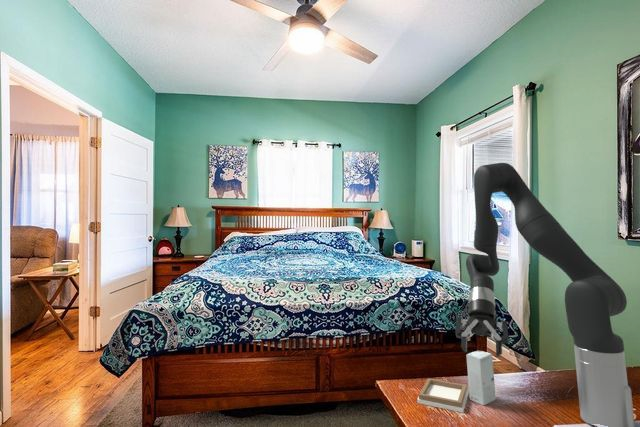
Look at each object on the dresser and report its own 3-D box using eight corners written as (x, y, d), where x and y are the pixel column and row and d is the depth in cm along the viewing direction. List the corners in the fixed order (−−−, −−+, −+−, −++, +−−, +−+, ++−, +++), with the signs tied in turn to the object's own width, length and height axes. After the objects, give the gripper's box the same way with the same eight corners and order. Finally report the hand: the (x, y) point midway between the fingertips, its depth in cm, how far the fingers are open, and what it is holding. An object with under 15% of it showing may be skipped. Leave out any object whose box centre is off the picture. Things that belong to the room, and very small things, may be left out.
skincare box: (484, 406, 88) (480, 358, 88) (468, 399, 91) (465, 354, 92) (496, 399, 91) (493, 353, 92) (481, 393, 95) (478, 349, 95)
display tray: (468, 392, 95) (468, 384, 95) (463, 412, 85) (462, 403, 85) (427, 385, 101) (426, 377, 101) (417, 403, 91) (417, 394, 91)
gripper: (456, 296, 108) (452, 343, 97) (506, 299, 101) (508, 349, 90) (459, 309, 112) (456, 355, 102) (508, 313, 105) (510, 363, 94)
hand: (481, 353), depth 96 cm, fingers open, 8 cm apart
